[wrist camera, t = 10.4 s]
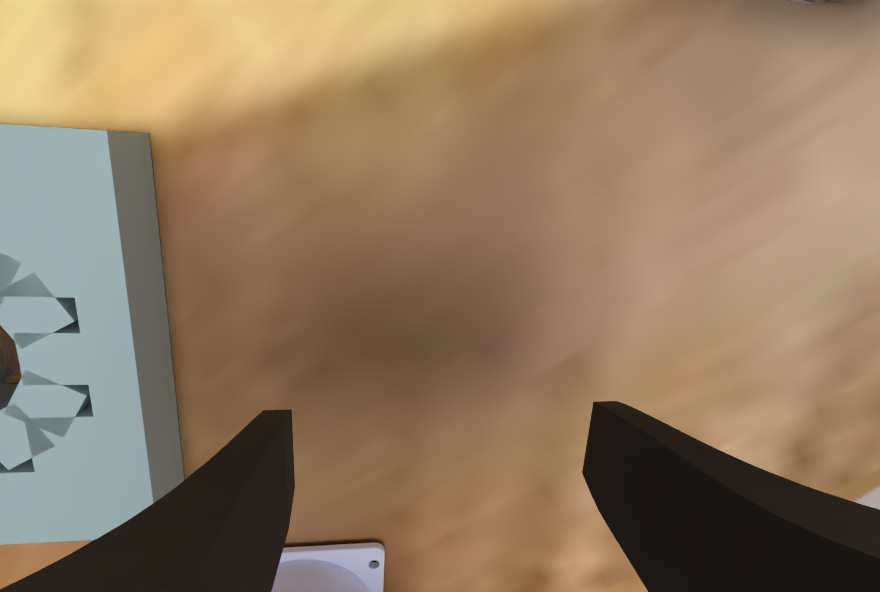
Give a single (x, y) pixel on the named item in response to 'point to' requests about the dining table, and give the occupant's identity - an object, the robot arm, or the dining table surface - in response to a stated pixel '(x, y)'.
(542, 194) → the dining table surface
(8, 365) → the round bit
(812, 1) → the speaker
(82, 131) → the socket block
